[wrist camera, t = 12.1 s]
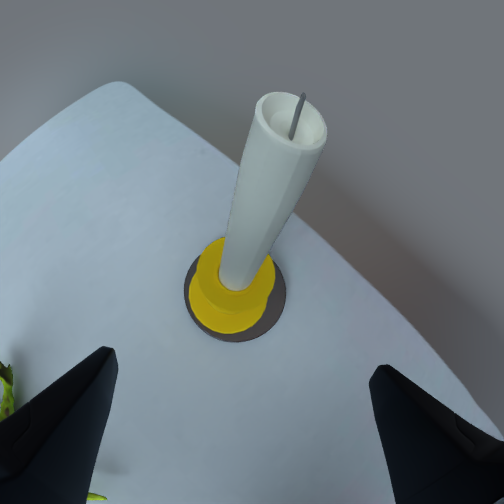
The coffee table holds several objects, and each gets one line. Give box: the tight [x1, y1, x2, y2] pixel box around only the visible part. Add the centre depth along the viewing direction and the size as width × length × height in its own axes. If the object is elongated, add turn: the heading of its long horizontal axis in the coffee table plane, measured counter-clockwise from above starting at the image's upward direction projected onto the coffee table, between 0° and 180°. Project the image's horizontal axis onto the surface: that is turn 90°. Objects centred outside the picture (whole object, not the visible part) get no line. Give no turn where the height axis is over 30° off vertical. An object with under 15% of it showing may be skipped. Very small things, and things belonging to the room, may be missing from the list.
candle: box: [189, 92, 328, 334], centre depth 11 cm, size 5×5×16 cm
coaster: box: [184, 255, 286, 342], centre depth 19 cm, size 7×7×1 cm
